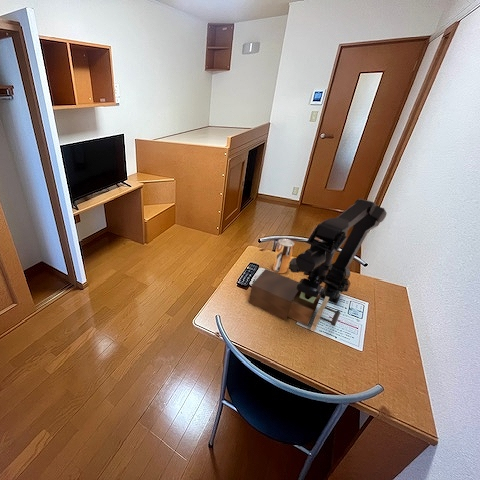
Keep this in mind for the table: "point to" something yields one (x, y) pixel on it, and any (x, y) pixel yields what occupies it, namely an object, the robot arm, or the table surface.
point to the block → (307, 299)
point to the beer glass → (283, 255)
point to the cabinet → (273, 293)
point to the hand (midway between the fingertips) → (308, 294)
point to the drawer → (310, 311)
